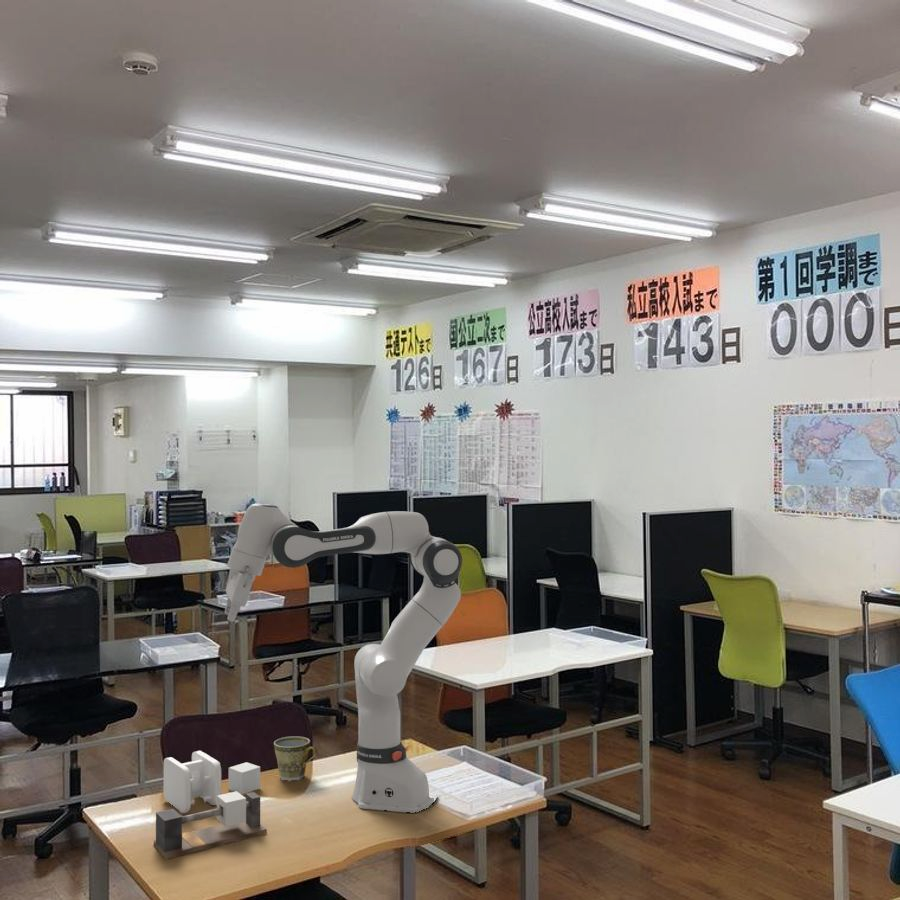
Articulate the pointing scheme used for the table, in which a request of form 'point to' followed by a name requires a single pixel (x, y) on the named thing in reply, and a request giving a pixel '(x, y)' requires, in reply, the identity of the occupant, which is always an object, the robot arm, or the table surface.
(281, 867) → the table surface
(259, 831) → the rail
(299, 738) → the ceramic cup
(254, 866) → the table surface
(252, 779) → the light gray cube
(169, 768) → the cable organizer
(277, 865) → the table surface
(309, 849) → the table surface
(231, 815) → the white cube
